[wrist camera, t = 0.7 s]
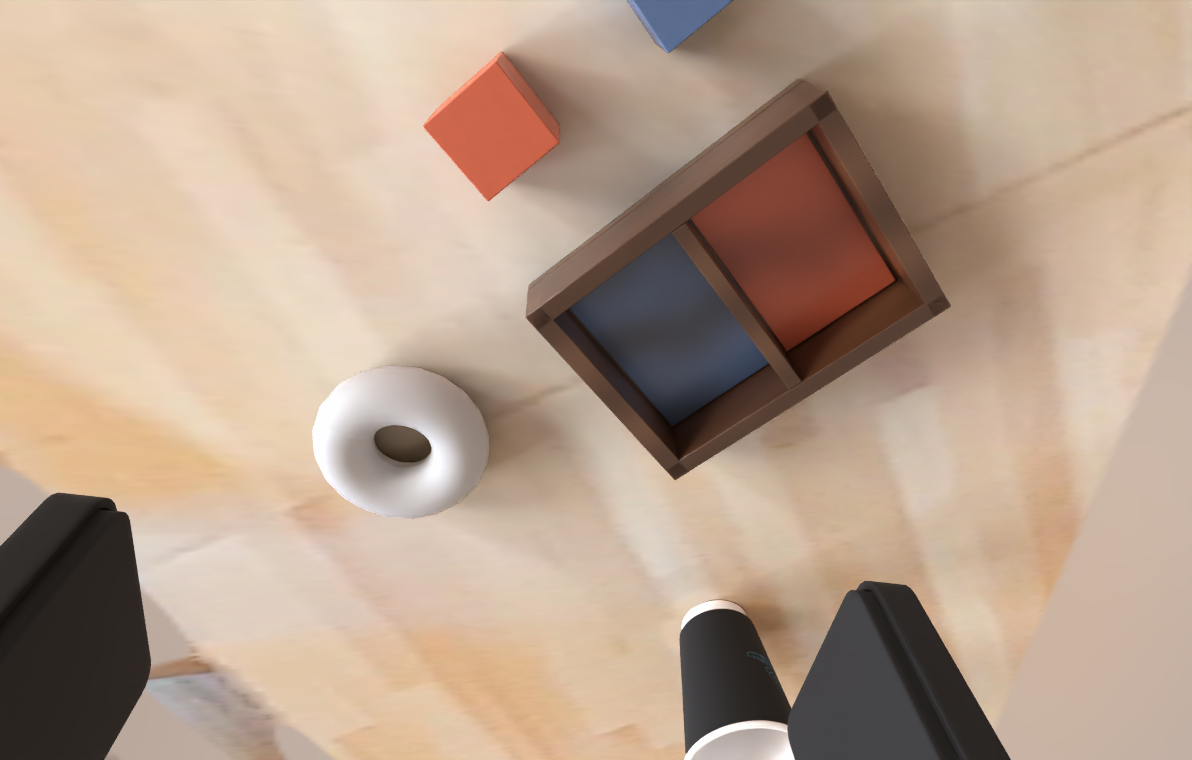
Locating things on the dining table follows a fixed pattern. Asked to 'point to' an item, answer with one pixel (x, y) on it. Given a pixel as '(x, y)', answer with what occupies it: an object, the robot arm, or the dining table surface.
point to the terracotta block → (494, 127)
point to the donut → (403, 402)
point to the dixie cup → (730, 688)
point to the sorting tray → (738, 283)
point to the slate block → (675, 18)
